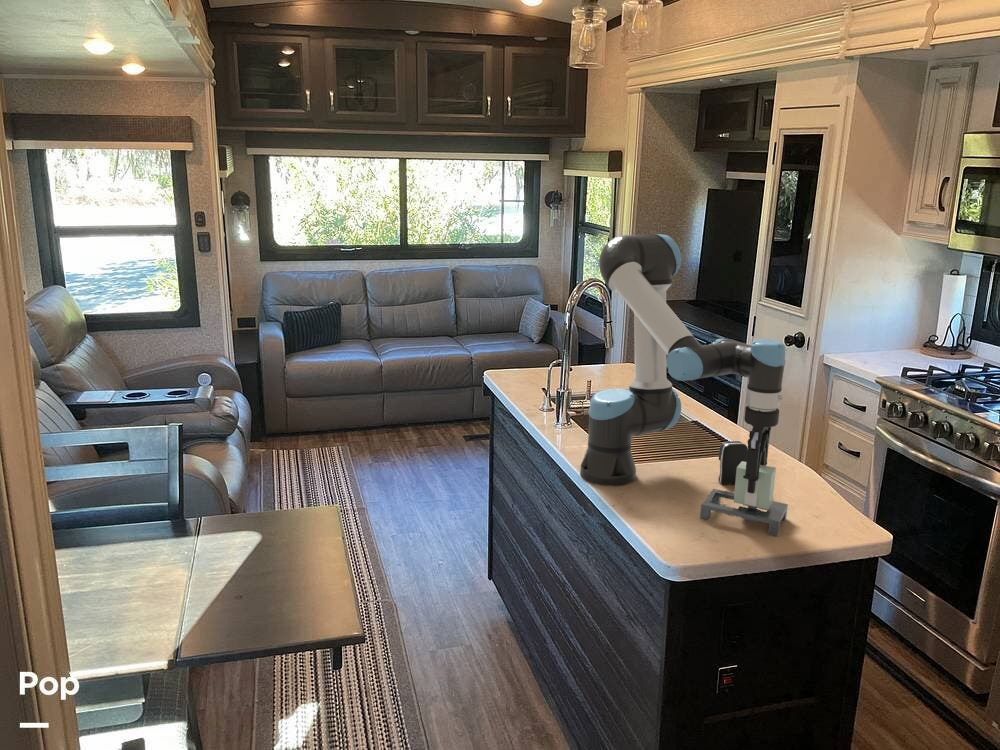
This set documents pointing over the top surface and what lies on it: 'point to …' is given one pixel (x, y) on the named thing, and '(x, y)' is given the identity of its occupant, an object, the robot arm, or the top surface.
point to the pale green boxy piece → (764, 487)
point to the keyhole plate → (745, 510)
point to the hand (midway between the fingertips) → (753, 500)
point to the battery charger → (731, 460)
